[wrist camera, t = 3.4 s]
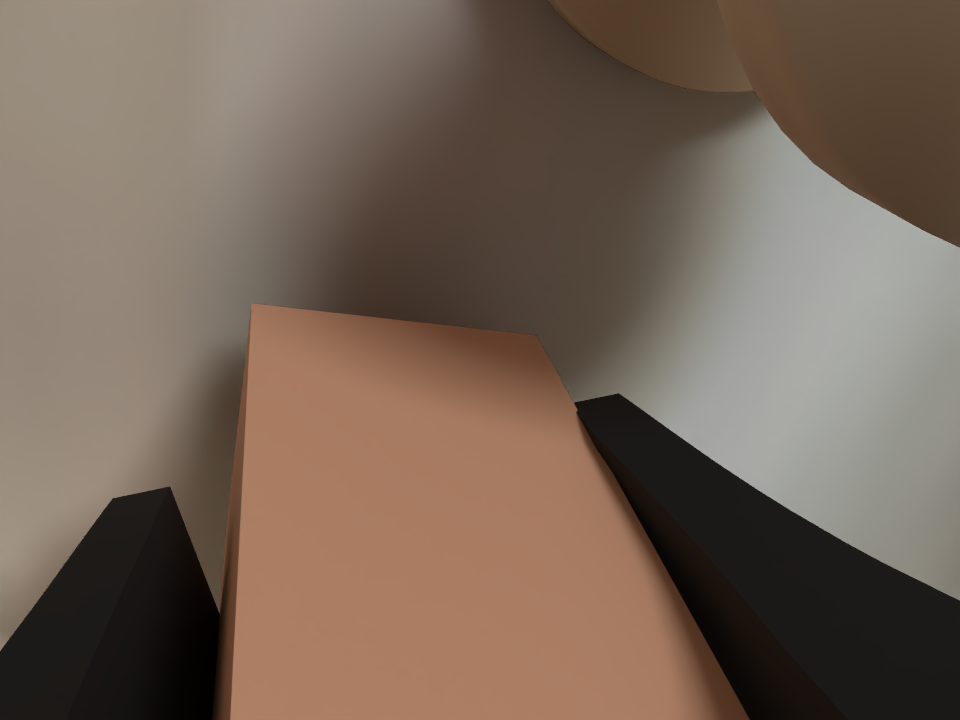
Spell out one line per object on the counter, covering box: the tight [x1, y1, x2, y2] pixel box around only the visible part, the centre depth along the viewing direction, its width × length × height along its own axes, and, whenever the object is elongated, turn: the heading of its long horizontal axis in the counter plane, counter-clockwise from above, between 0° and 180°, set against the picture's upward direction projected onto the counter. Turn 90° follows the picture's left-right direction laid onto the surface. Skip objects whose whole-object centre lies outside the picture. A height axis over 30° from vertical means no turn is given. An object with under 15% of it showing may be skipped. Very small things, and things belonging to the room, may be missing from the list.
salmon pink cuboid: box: [212, 304, 750, 720], centre depth 8 cm, size 4×4×6 cm
